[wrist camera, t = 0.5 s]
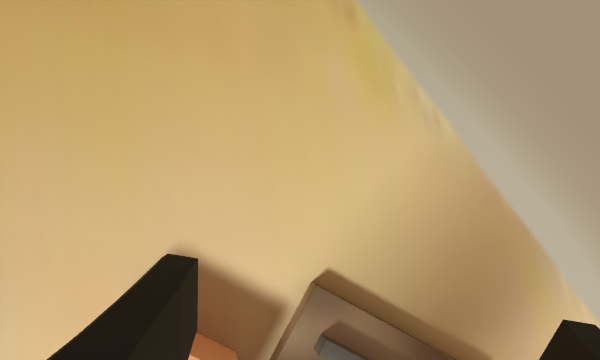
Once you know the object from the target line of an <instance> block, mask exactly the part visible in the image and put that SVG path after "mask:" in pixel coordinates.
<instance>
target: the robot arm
mask: <svg viewBox="0 0 600 360" xmlns="http://www.w3.org/2000/svg"><path fill="white" fill-rule="evenodd" d="M197 301H198V259H197V258H191V257H185V256H179V255H173V254H167V255H165V256H164V257H162V258H161V259H160V260H159V261H158V262H157V263H156V264H155V265H154V266H153V267H152V268H151V269H150V270H149V271H148V272H147V273H146V274H145V275H144V276H143V277H142V278H140V279H139V280H138V281H137V282H136V283H135V284H134V285H133V286H132V287H131V288H130V289H129V290H128V291H127V292H125V293H124V294H123V295H122V296H121V297H120V298H119V299H118V300H117V301H116V302H115V303H114V304H112V305H111V306H110V307H109V308H108V309H107V310H106V311H104V312H103V313H102V314H101V315H100V316H99V317H97V318H96V319H95V320H94V321H93V322H92V323H91V324H89V325H88V326H87V327H86V328H85V329H84V330H83V331H81V332H80V333H79V334H78V335H77V336H75V337H74V338H73V339H72V340H71V341H69V342H68V343H67V344H66V345H64V346H63V347H62V348H61V349H59V350H58V351H57V352H56V353H54V354H53V355H52V356H51V357H49V358H48V359H47V360H188V358H189V355H190V352H191V349H192V345H193V342H194V339H195V335H196V332H197ZM539 360H600V329H599V328H598V327H597V326H596V325H593V324H587V323H581V322H575V321H569V320H563V321H562V322H561V324H560V326H559V327H558V329H557V331H556V332H555V334H554V336H553V337H552V339H551V341H550V342H549V344H548V346H547V347H546V349H545V351H544V352H543V354H542V356H541V357H540V359H539Z"/></svg>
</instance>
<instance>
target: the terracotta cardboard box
mask: <svg viewBox="0 0 600 360" xmlns="http://www.w3.org/2000/svg"><path fill="white" fill-rule="evenodd" d="M188 360H238V359H237V355H236V352H235V351H233V350H231V349H229V348H227V347H225V346H223V345H221V344H219V343H217V342H214V341H212V340H210V339H208V338H206V337H204V336H202V335H200V334H198V333H196V335H195V339H194V342H193V345H192V349H191V352H190V355H189V358H188Z"/></svg>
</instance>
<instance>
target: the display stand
mask: <svg viewBox="0 0 600 360" xmlns="http://www.w3.org/2000/svg"><path fill="white" fill-rule="evenodd" d="M270 360H455V359H453V358H451V357H449V356H448V355H446V354H444V353H442V352H440V351H438V350H437V349H435V348H433V347H431V346H429V345H427V344H425V343H424V342H422V341H420V340H418V339H416V338H414V337H413V336H411V335H409V334H407V333H405V332H403V331H401V330H400V329H398V328H396V327H394V326H392V325H390V324H389V323H387V322H385V321H383V320H381V319H379V318H377V317H376V316H374V315H372V314H370V313H368V312H366V311H365V310H363V309H361V308H359V307H357V306H355V305H353V304H352V303H350V302H348V301H346V300H344V299H342V298H341V297H339V296H337V295H335V294H333V293H331V292H329V291H328V290H326V289H324V288H322V287H320V286H318V285H317V284H315V283H313V282H311V284H310V285H309V287H308V289H307V291H306V293H305V295H304V297H303V298H302V300H301V302H300V304H299V306H298V308H297V310H296V311H295V313H294V315H293V317H292V319H291V321H290V323H289V324H288V326H287V328H286V330H285V332H284V334H283V336H282V338H281V339H280V341H279V343H278V345H277V347H276V349H275V351H274V352H273V354H272V356H271V358H270Z"/></svg>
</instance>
